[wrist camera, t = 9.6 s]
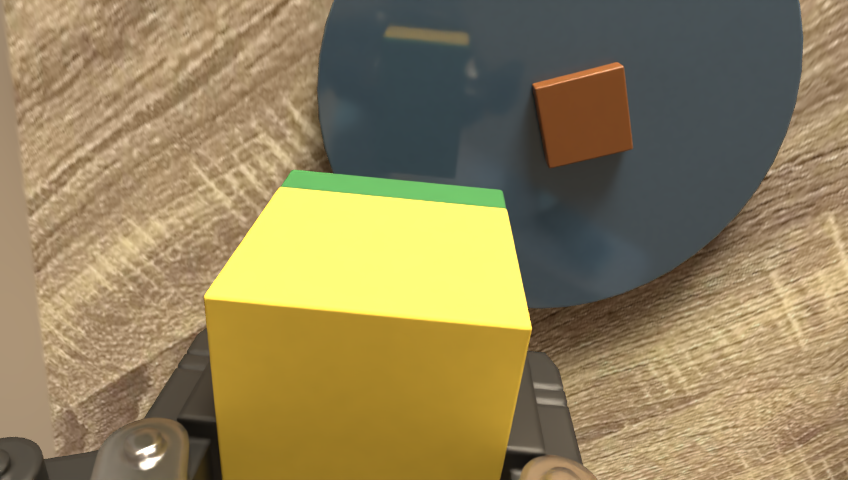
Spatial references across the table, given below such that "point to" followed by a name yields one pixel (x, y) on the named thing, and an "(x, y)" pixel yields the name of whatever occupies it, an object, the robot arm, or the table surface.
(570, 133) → the orange brown flat block
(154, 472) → the robot arm
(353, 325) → the sponge
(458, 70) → the plate
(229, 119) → the table surface
